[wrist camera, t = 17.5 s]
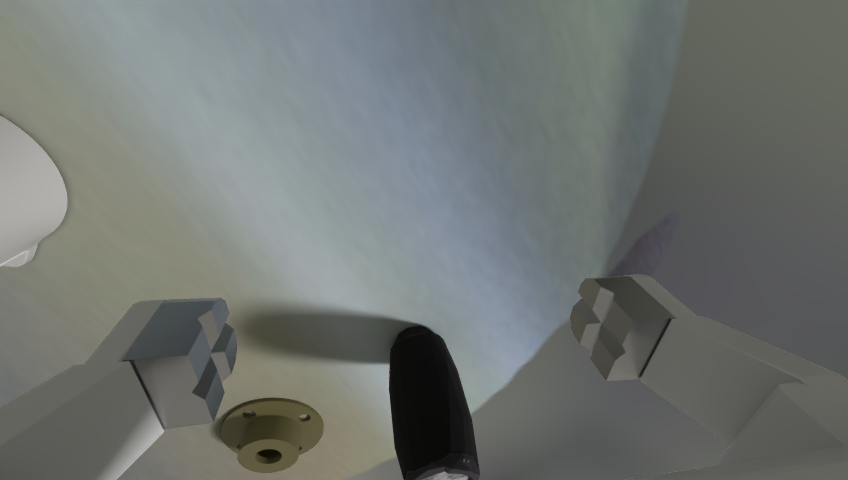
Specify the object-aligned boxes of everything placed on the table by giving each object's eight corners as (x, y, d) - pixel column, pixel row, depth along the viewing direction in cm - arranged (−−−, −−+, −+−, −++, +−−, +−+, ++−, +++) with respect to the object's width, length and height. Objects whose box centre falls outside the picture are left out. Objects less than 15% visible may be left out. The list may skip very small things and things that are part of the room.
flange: (187, 454, 50) (259, 495, 58) (279, 410, 49) (340, 458, 57) (200, 423, 54) (265, 465, 62) (285, 381, 53) (341, 430, 61)
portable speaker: (374, 356, 53) (382, 508, 36) (411, 312, 50) (439, 457, 33) (422, 374, 56) (449, 520, 39) (459, 334, 53) (505, 474, 36)
